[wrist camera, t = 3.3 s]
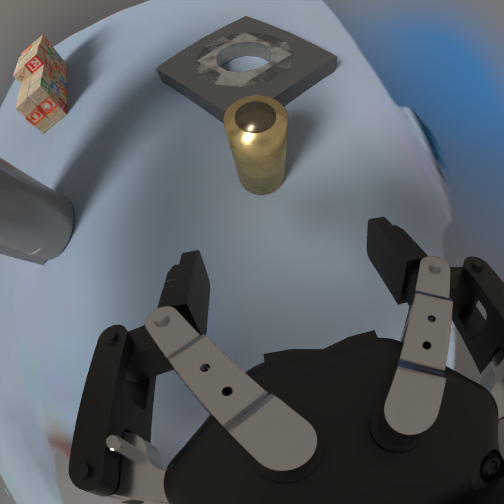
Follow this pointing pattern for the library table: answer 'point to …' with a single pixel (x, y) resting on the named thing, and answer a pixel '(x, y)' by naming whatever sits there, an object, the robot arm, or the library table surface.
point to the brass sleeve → (258, 142)
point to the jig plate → (250, 82)
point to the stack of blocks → (42, 85)
